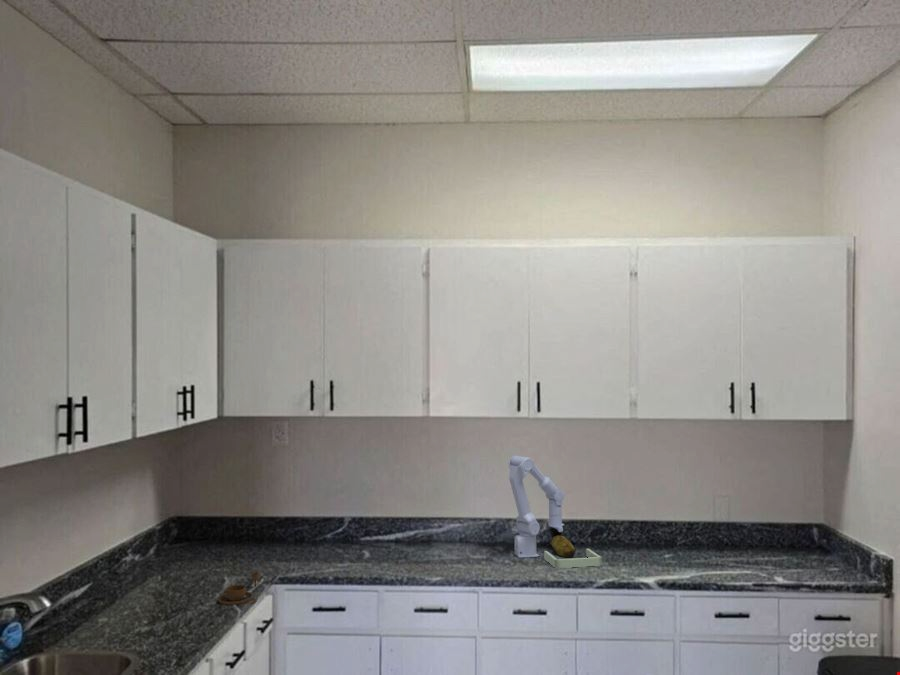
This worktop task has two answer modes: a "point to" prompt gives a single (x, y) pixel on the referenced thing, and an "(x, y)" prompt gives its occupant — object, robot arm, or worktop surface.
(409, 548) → the worktop surface
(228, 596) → the place setting
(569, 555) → the potato
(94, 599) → the worktop surface
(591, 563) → the pale green rail frame
